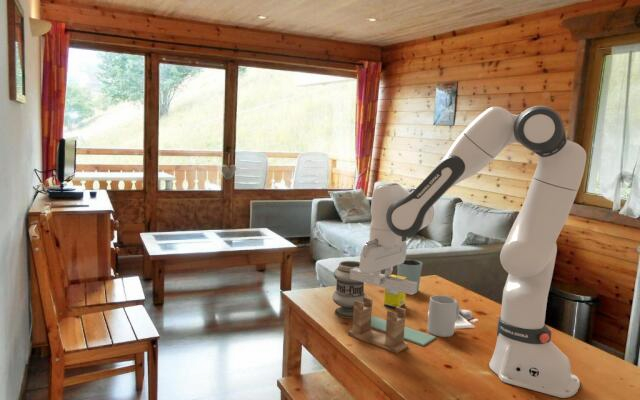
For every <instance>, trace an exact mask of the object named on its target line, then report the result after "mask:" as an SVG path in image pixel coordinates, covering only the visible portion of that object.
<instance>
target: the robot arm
mask: <svg viewBox="0 0 640 400" xmlns="http://www.w3.org/2000/svg"><path fill="white" fill-rule="evenodd" d="M516 143H518V144H520V145H522V147H524V148H526V149H527V150H528V151H529V150H530V151H532V153H535V154H536V155H537V164H536V168H535V171H534V174H533V175H532V178H531V182H530V184H529V187H528V189H527V193H526V196H525V198H524V200H523V203H522V206H521V208H520V210H519V213H518V214H517V215H516V218H515V220H514V222H513V224H512V227H511V228H510V230H509V232H508V235H507V237H506V239H505V241H504V243H503V246H502V248H501V250H500V255H499V261H500V265H501V266H502V268H503V269H504V271H506V273H508V275H507V278H506V281H505V284H504V287H503V290H502V299H501V300H502V301H501V310H500V316H499V317H498V321H497V328H496V336H497V339H496V342H495V343H496V344H495V348H494V349H493V350H494V351H493V354H492V356H491V359H490V361H489V365H488V366H489V368H490V370H492V372H494V373H495V374H496V375H497V376H498V378H499V379H500V381H501V382H503V383H506V384H509V385H514V386H517V387H520V388H525V389H528V390H531V391H535V392H539V393H543V394H546V395H549V396H554V397H557V398H560V399H565V398H566V399H567V398H570V397H573V396H574V395H575V394H577V392H578V391H579V390H580V386H581V385H580V382H581V381H580V379H579V378H578V376H577V375H575V374H574V373H573V374H572V367H571V361H570V359H569V358H568V357H569V356H567V355H566V354H565V353H563V351H562V350H561V349H560V348H559V347H558V346H557V345H555V344H554V343H553V342H552V340H551V339H552V334H553V328H550V329H549V328H548V327H547V326H546V324H545V321H546V313H547V312H546V311H547V303H548V297H549V292H550V288H551V283H552V280H553V279H552V278H553V274H554V268H555V264H556V258H557V253H558V245H557V240H558V237H559V236H560V233H561V232H562V229H563V228H564V226H565V224H566V222H567V220H568V218H569V214H570V213H571V210H572V207H573V204H574V202H575V199H576V197H577V194H578V191H579V189H580V186H581V183H582V179H583V176H584V172H585V169H586V164H587V163H586V162H587V152H586V150H585V149H584V147H582V146H581V145H580V144H578V143H577V142H574V141H572V140H569V139H567V135H566V131H565V125H564V122H563V119H562V117H561V115H560V114H559V113H558V112H557V111H556V110H554V109H553V108H551V107H549V106H545V105H534V106H532V107H529V108H526V109H525V110H524V111H521V112H519V113H516V114H514V113H511V112H510V111H509V110H507V109H506V108H503V107H501V106H490V107H489V108H486V109H485V110H483V112H482V113H479V115H478V116H477V117H475V118H474V119H473V120H472V121H471V122H470V123H469V124H468V125H467V126H466V127H465V128H464V130H462V131H461V132H460V134H459V135H458V136H457V138H456V139H455V140H454V141H453V143H452V144H451V145H450V147H448V149H447V150H446V152H445V154H444V155H443V156H442V159H440V161H439V162H438V164H437V165H436V166H435V168H434V169H433V170H431V172H430V173H429V174H428V175H427V177H425V179H424V180H422V182H420V184H419V185H418V186H417V187H416V188H415V189H414V190H413V191H412V192H410V191H408V190H407V189H405V188H403V186H401V184H399V183H396V182H393V183H392V182H391V183H383V184H379V185H376V186H375V187H374V189H373V191H372V195H371V205H370V215H371V222H370V225H369V239H368V240H367V241H366V243H365V244H364V245H363V247H362V248H361V253H360V257H359V258H360V259H359V262H360V266H359V269H360V271H361V272H362V273H366V274H372V273H373V276H374V278H375V281H374V283H375V284H377V285H379V284H382V278H381V277H380V274H382V271H383V270H385V271H384V275H388V276H390V275H392V273H393V270H394V267H395V266H397V265H398V264H401V263H404V261H405V259H407V258H406V257H407V241H408V238H409V237H412V236H414V235H415V234H417V233H418V232H419V231H420V230H422V229H424V228H425V227H427V226H429V224H430V223H432V221H433V219H434V214H435V210H434V205H435V204H436V203H437V202H438V201H439V199H441V198H442V197H443V196H444V195H445V193H446V192H448V190H450V189H451V188H452V187H454V186H455V185H457V184H458V183H461V182H462V181H464V180H467V179H469V178H471V177H474V176H475V175H477V174H478V173H480V172H481V171H482V170H484V168H486V167H487V166H489V164H490V163H491V162H492V161H494V159H495V158H496V157H497V156H498V155H499V154H500V153H501V152H502V151H503V150H504V149H505V148H506V147H507V146H509V145H511V144H516ZM578 389H579V390H578Z"/></svg>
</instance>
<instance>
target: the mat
mask: <svg viewBox="0 0 640 400" xmlns="http://www.w3.org/2000/svg"><path fill="white" fill-rule="evenodd" d="M386 321H387V319H384V318H381V317H378V316H375V315H371V329H374V330H377V331H379V332H383V333H384V334H386ZM404 340H405V341H408V342H410V343H413V344H416V345H419V346H421V347H424V346H426V345H427V344H429V343H431V342H433V341H434V340H436V335H433V334H429V333H426V332H422V331H419V330H416V329H414V328H411V327H407V326H405V328H404Z"/></svg>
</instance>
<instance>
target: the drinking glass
mask: <svg viewBox="0 0 640 400" xmlns="http://www.w3.org/2000/svg"><path fill="white" fill-rule="evenodd" d="M396 266H397V273H396V274H397V275H398V276H402V277H407V280H409V281H413V282H417V293H419V290H420V289H419V288H420V282H421V275H422V269H423V262H422V261H420V260H416V259H411V258H409V259H407V258H405V261H404V263H401V264H398V265H396Z"/></svg>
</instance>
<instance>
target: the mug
mask: <svg viewBox="0 0 640 400" xmlns="http://www.w3.org/2000/svg"><path fill="white" fill-rule="evenodd" d="M428 306H429V307H428V311H429V316H428V315H427V317H428V318H427V327H426V328H427V329H426V330H427V332H428V334H429V333H430V335H432V336H435V337H436V336H437V337H442V338H449V337H452V336H453V335H454V334H455V329H454V327H455V321H456V320H457V318H458V316H459V310H460V309H461V307H460V303H459V302H458V301H457V300H456V299H455V298H454V297H451V296H448V295H442V294H438V295H437V294H435V295H431V296H430V298H429V305H428Z"/></svg>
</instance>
